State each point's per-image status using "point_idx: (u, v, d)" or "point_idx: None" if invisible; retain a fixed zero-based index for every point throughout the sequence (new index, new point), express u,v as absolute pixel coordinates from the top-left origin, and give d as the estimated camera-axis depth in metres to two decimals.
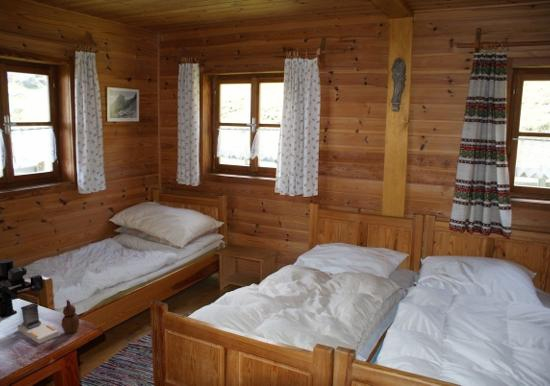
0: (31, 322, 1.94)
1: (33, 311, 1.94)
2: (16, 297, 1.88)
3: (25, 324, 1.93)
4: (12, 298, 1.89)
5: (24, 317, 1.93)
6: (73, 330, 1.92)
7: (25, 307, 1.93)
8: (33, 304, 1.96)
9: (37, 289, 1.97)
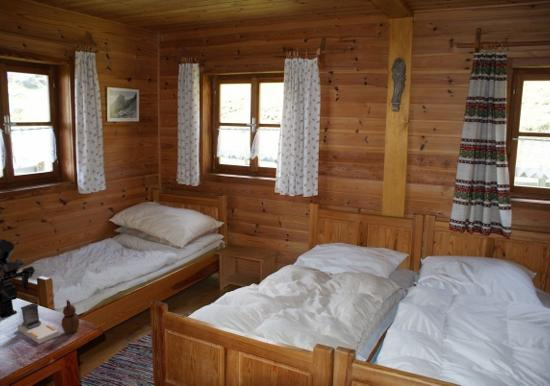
0: (31, 322, 1.94)
1: (33, 311, 1.94)
2: (8, 296, 1.95)
3: (25, 324, 1.93)
4: (3, 293, 1.96)
5: (24, 317, 1.93)
6: (73, 330, 1.92)
7: (25, 307, 1.93)
8: (33, 304, 1.96)
9: (25, 286, 2.02)
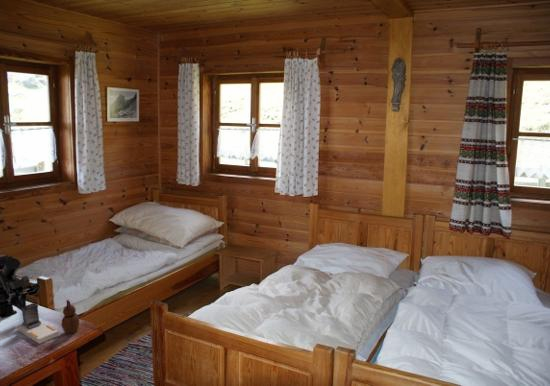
0: (31, 322, 1.94)
1: (33, 311, 1.94)
2: None
3: (25, 324, 1.93)
4: (19, 308, 1.98)
5: (24, 317, 1.93)
6: (73, 330, 1.92)
7: (25, 307, 1.93)
8: (33, 304, 1.96)
9: (22, 306, 1.99)
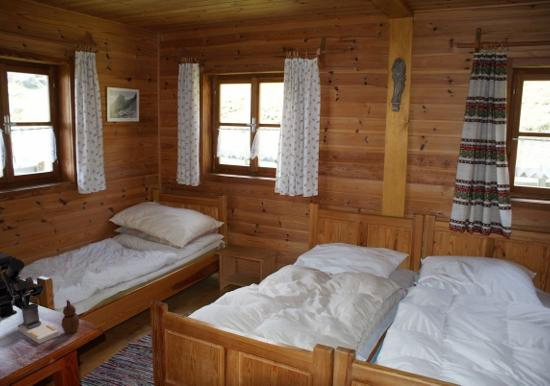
0: (31, 322, 1.94)
1: (33, 311, 1.94)
2: None
3: (25, 324, 1.93)
4: None
5: (24, 317, 1.93)
6: (73, 330, 1.92)
7: (25, 307, 1.93)
8: (33, 304, 1.96)
9: None
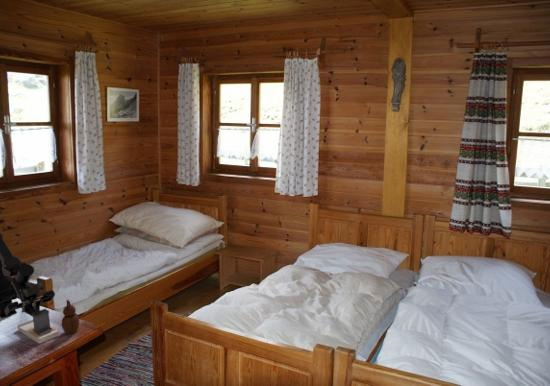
0: (42, 328, 1.89)
1: (44, 317, 1.89)
2: None
3: (36, 331, 1.88)
4: (32, 316, 1.91)
5: (35, 323, 1.87)
6: (73, 330, 1.92)
7: (36, 313, 1.87)
8: (44, 309, 1.91)
9: None
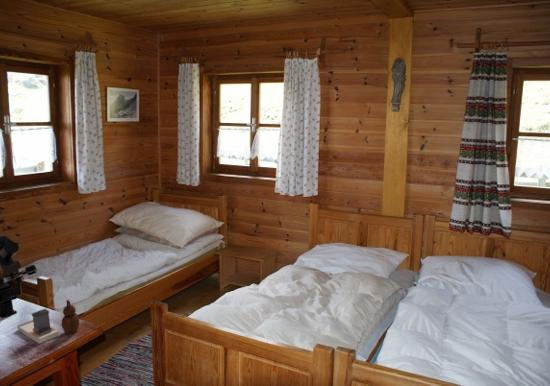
0: (42, 328, 1.89)
1: (44, 317, 1.89)
2: (18, 294, 1.98)
3: (36, 331, 1.88)
4: (15, 291, 1.98)
5: (35, 323, 1.87)
6: (73, 330, 1.92)
7: (36, 313, 1.87)
8: (44, 309, 1.91)
9: None
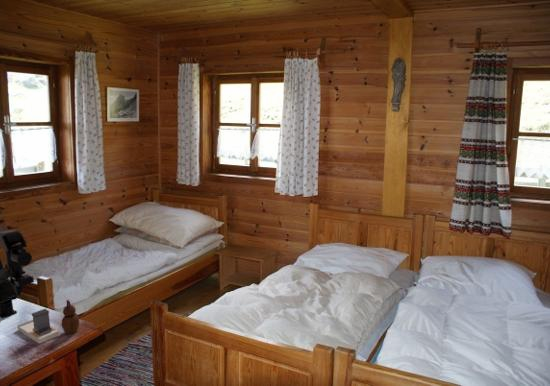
0: (42, 328, 1.89)
1: (44, 317, 1.89)
2: None
3: (36, 331, 1.88)
4: None
5: (35, 323, 1.87)
6: (73, 330, 1.92)
7: (36, 313, 1.87)
8: (44, 309, 1.91)
9: None
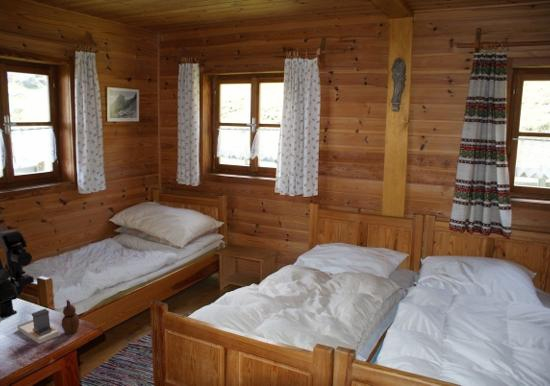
0: (42, 328, 1.89)
1: (44, 317, 1.89)
2: None
3: (36, 331, 1.88)
4: None
5: (35, 323, 1.87)
6: (73, 330, 1.92)
7: (36, 313, 1.87)
8: (44, 309, 1.91)
9: None
